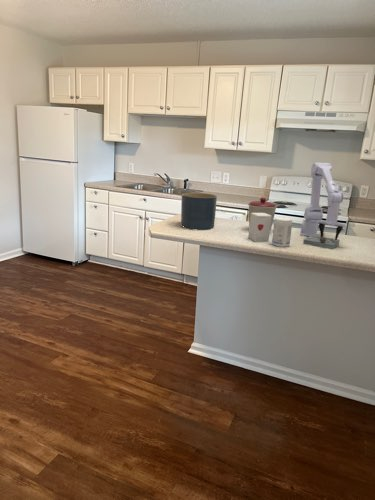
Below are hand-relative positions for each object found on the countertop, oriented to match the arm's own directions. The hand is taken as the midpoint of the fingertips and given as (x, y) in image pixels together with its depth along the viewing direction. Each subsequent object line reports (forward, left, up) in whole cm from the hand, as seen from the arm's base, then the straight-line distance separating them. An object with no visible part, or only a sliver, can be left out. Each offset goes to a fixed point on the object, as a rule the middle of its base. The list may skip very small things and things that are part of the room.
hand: (328, 238), depth 206 cm
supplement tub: (-21, -19, -4) cm, 28 cm away
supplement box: (-35, -17, -4) cm, 39 cm away
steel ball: (0, 0, -2) cm, 2 cm away
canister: (-44, +6, -4) cm, 44 cm away
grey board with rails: (-4, 0, -4) cm, 5 cm away
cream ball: (-6, +6, 0) cm, 9 cm away
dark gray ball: (-2, -6, 0) cm, 7 cm away
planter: (-79, -13, -4) cm, 80 cm away
